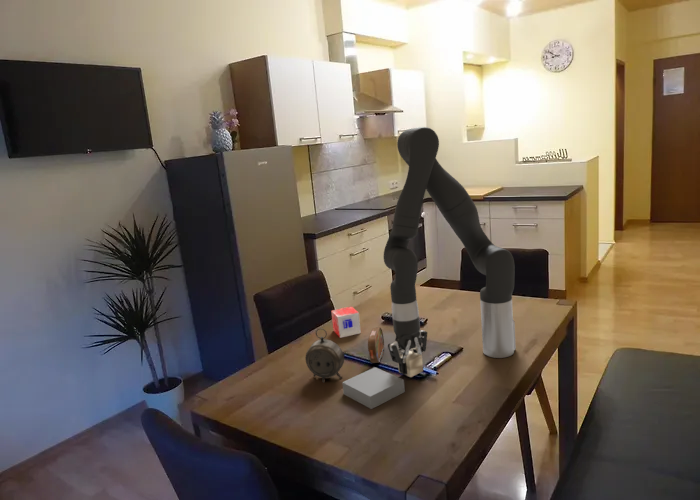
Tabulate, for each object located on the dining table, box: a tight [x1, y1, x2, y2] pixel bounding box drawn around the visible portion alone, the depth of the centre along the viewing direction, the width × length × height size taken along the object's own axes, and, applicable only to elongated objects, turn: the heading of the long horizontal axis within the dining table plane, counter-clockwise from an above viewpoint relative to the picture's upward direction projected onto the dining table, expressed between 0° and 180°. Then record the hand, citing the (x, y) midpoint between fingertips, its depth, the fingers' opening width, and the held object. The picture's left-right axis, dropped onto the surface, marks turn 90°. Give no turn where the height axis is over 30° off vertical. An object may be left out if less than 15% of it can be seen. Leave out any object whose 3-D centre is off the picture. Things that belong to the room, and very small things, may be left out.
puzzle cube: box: [330, 306, 362, 338], centre depth 190 cm, size 8×8×8 cm
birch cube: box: [397, 350, 424, 378], centre depth 152 cm, size 5×5×5 cm
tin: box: [367, 326, 385, 364], centre depth 166 cm, size 15×3×8 cm, turn 168°
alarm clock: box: [305, 327, 345, 383], centre depth 153 cm, size 11×5×16 cm, turn 71°
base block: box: [342, 366, 406, 410], centre depth 144 cm, size 12×12×4 cm
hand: (410, 370), depth 152 cm, fingers closed on birch cube, 5 cm apart
